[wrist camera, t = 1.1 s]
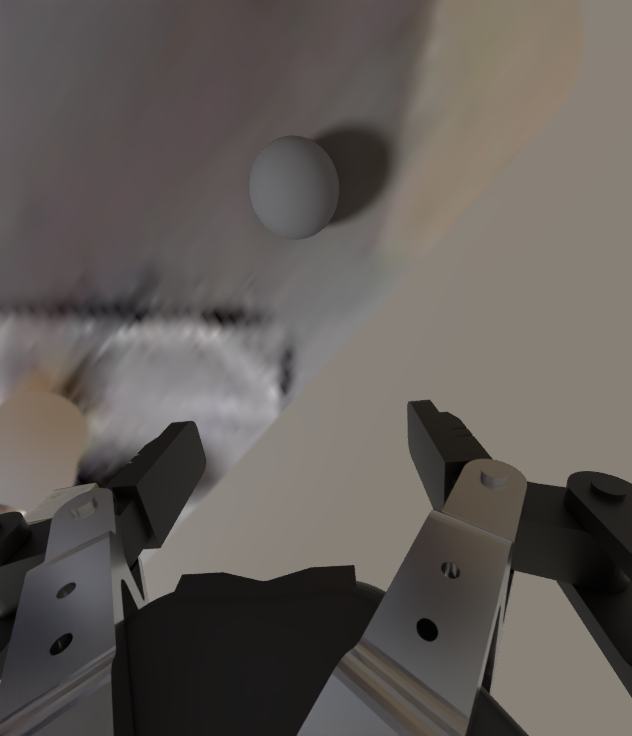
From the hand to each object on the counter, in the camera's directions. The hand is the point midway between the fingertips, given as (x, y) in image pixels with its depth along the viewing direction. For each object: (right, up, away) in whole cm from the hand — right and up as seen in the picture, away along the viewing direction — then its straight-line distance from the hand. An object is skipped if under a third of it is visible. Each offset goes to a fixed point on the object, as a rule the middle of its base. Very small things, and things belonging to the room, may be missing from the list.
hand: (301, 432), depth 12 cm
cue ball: (-1, +14, +9) cm, 17 cm away
